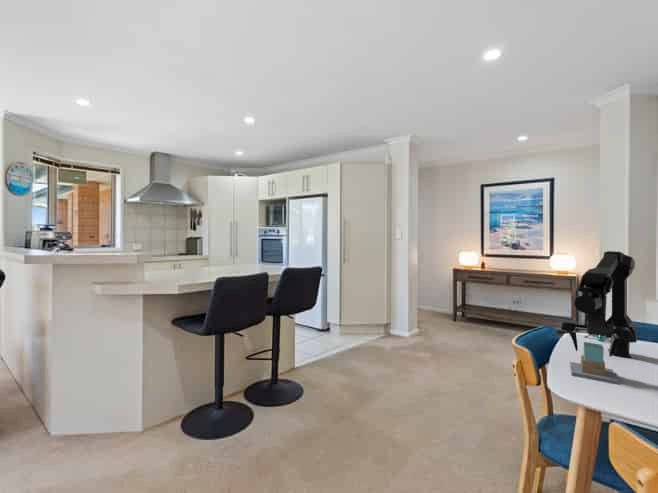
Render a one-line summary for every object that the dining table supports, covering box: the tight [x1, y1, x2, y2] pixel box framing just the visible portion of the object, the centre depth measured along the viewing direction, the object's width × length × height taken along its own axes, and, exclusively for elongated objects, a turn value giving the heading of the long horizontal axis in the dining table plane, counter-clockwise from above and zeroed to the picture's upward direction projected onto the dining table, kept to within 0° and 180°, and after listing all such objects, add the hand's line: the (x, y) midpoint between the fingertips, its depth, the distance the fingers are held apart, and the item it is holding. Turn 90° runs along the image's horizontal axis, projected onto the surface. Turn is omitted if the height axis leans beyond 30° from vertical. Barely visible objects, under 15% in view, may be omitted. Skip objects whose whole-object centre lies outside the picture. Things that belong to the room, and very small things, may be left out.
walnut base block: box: [580, 354, 606, 376], centre depth 117 cm, size 6×6×4 cm
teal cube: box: [582, 341, 605, 363], centre depth 117 cm, size 5×5×5 cm
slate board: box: [569, 361, 618, 385], centre depth 117 cm, size 11×12×1 cm
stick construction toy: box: [583, 334, 606, 342], centre depth 156 cm, size 12×7×8 cm
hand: (593, 353), depth 117 cm, fingers open, 9 cm apart
